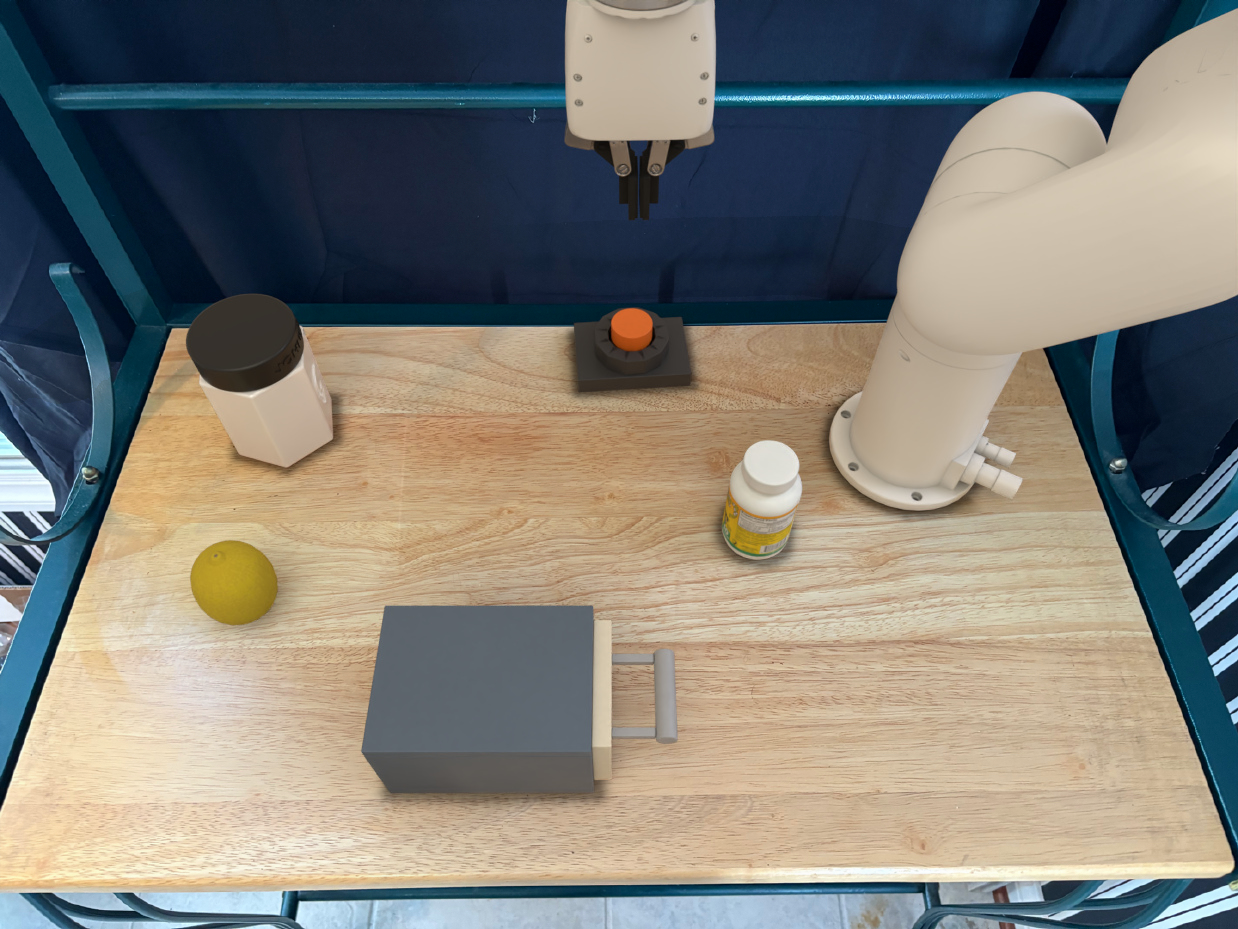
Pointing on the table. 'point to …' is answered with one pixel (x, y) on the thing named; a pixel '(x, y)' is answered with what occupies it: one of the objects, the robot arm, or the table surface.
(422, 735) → the cabinet
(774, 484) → the supplement bottle
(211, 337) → the jar
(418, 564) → the table surface
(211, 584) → the lemon
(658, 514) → the table surface
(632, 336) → the button
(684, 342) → the control block
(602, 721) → the drawer
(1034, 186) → the robot arm
